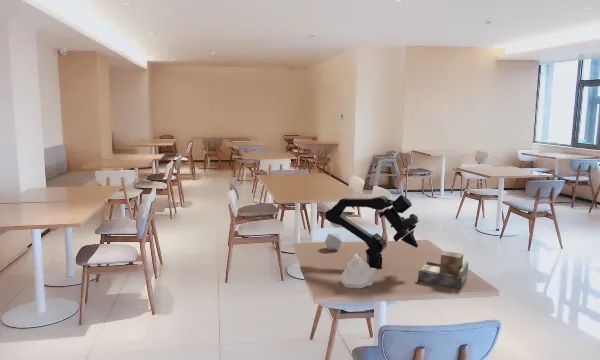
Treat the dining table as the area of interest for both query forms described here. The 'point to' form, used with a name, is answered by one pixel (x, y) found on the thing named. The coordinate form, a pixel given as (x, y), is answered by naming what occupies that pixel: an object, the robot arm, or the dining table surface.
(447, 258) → the walnut block
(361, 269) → the white faceted rock
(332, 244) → the die
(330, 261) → the dining table surface
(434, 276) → the trap box
